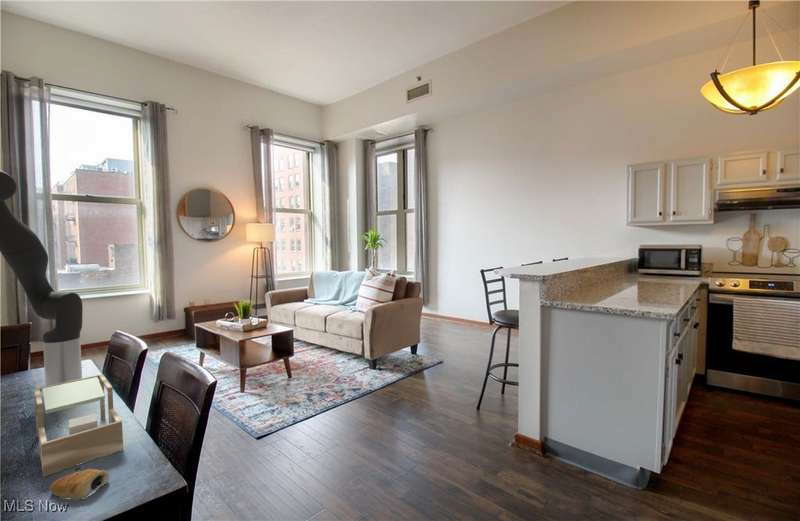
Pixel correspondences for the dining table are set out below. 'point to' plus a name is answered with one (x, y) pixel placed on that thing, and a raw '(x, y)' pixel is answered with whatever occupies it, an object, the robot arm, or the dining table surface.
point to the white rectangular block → (82, 423)
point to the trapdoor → (72, 394)
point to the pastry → (79, 483)
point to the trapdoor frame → (79, 436)
